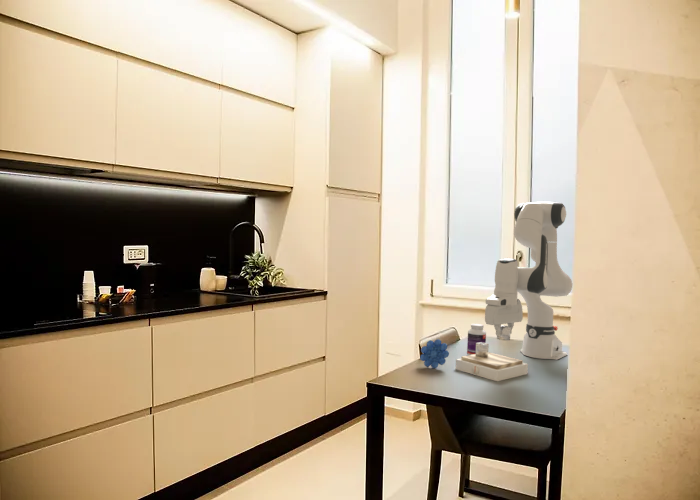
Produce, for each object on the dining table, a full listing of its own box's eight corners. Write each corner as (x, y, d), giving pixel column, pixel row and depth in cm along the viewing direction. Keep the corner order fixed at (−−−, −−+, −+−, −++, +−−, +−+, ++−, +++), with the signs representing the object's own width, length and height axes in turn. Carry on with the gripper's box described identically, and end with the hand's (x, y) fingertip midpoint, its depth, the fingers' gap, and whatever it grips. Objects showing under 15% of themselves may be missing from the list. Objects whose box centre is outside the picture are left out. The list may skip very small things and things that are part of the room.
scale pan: (487, 354, 218) (487, 351, 218) (522, 363, 205) (522, 360, 205) (461, 359, 208) (461, 356, 208) (496, 369, 194) (496, 366, 194)
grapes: (449, 367, 210) (451, 338, 210) (447, 371, 204) (448, 341, 204) (421, 364, 214) (423, 335, 214) (418, 367, 208) (419, 338, 207)
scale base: (486, 362, 220) (486, 353, 220) (527, 373, 205) (528, 363, 205) (454, 369, 208) (455, 359, 208) (496, 381, 192) (496, 371, 192)
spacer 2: (501, 337, 206) (502, 324, 205) (512, 339, 202) (513, 326, 201) (494, 338, 202) (494, 325, 202) (505, 340, 198) (505, 327, 198)
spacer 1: (480, 354, 214) (481, 341, 214) (490, 356, 210) (491, 344, 210) (472, 355, 211) (473, 343, 210) (482, 358, 207) (483, 345, 207)
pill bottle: (485, 359, 227) (487, 326, 227) (467, 357, 229) (468, 325, 228) (484, 355, 235) (486, 323, 235) (466, 353, 237) (468, 322, 236)
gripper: (513, 297, 211) (512, 331, 211) (482, 299, 198) (481, 335, 198) (527, 299, 206) (525, 333, 206) (496, 301, 193) (494, 338, 193)
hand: (503, 334), depth 202 cm, fingers closed on spacer 2, 5 cm apart
